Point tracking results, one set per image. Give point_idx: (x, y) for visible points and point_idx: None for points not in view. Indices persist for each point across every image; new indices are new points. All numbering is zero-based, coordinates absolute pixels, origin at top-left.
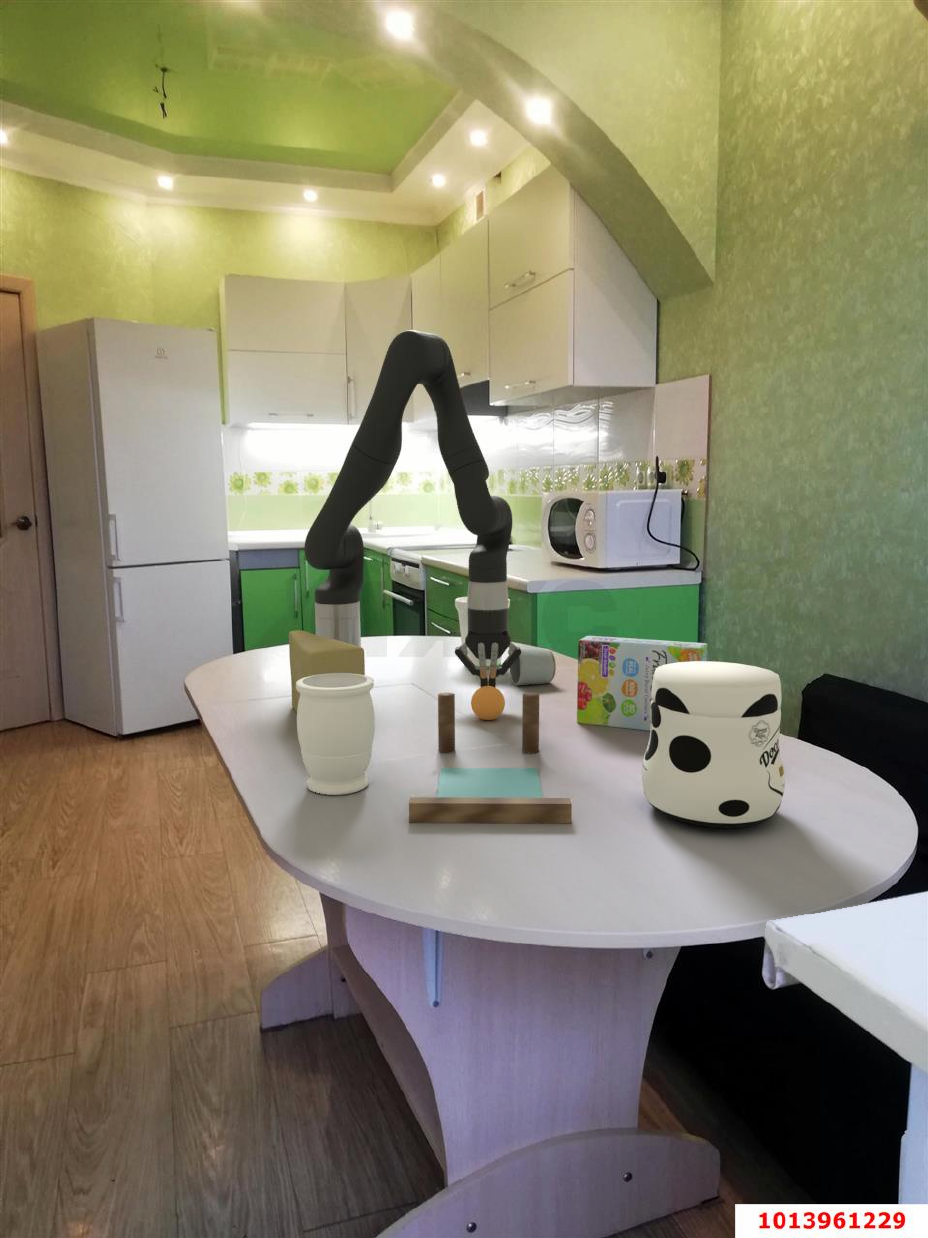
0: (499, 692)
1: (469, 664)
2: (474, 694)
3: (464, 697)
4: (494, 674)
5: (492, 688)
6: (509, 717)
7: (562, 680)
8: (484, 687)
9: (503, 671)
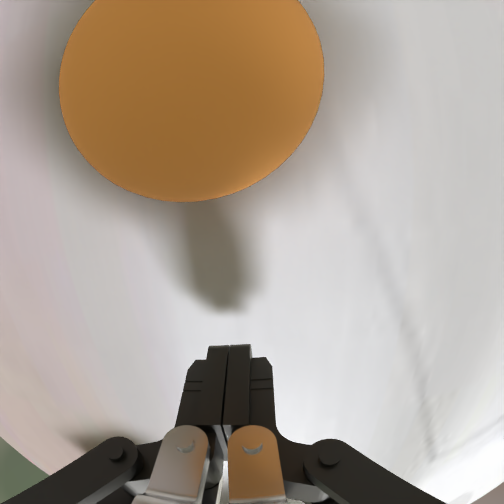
0: (65, 50)
1: (375, 502)
2: (301, 17)
3: (331, 414)
4: (171, 447)
5: (103, 23)
6: None
7: None
8: (189, 13)
9: (107, 455)
